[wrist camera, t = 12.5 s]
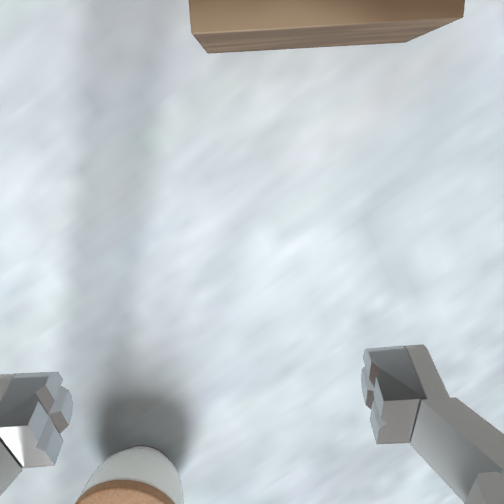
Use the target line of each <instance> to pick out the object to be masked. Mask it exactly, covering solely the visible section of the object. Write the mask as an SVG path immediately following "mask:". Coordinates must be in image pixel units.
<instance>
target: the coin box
mask: <svg viewBox="0 0 504 504" xmlns="http://www.w3.org/2000/svg"><path fill="white" fill-rule="evenodd" d="M464 3H465V0H189V11H190V22H191V33H192V34H193V35H194V37H195V38H196V39H197V40H198V42H199V43H200V44H201V46H202V47H203V48H204V49H205V51H206V52H207V53H224V52H241V51H259V50H277V49H295V48H313V47H331V46H348V45H366V44H384V43H402V42H407V41H410V40H412V39H414V38H417V37H419V36H421V35H424V34H426V33H428V32H430V31H433V30H435V29H437V28H440V27H442V26H444V25H447V24H449V23H451V22H453V21H456V20H458V19H460V18H463V14H464Z"/></svg>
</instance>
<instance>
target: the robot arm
mask: <svg viewBox="0 0 504 504" xmlns="http://www.w3.org/2000/svg"><path fill="white" fill-rule="evenodd" d="M363 360H364V363H365V367H364V368H363V369H362V374H361V382H362V391H363V396H364V400H365V404H366V406H368V407H369V408H370V409H371V416H370V422H371V426H372V429H373V433H374V437H375V440H376V444H394V443H410V445H411V446H412V447H413V448H414V449H415V450H416V451H417V453H418V454H419V455H420V456H421V457H422V458H423V459H424V460H425V461H426V462H427V463H428V464H429V465H430V467H431V468H432V469H433V470H434V471H435V472H436V473H437V474H438V475H439V476H440V477H441V478H442V479H443V481H444V482H445V483H446V484H447V485H448V486H449V487H450V488H451V489H452V490H453V491H454V492H455V494H456V495H457V496H458V497H459V498H460V499H461V500H462V501H463V502H464V504H504V434H503V433H502V432H500V431H499V430H498V429H496V428H495V427H494V426H493V425H491V424H490V423H489V422H487V421H486V420H485V419H483V418H482V417H481V416H479V415H478V414H477V413H476V412H474V411H473V410H472V409H470V408H469V407H468V406H466V405H465V404H464V403H462V402H461V401H460V400H459V399H457V398H450V397H449V394H448V392H447V390H446V388H445V386H444V384H443V382H442V379H441V377H440V375H439V373H438V371H437V369H436V367H435V364H434V362H433V360H432V358H431V356H430V354H429V351H428V349H427V347H426V346H424V345H409V346H392V347H380V348H369V349H365V351H364V355H363ZM62 381H63V379H62V377H61V376H60V374H59V372H39V373H18V374H1V375H0V496H1V494H2V493H3V492H4V491H5V490H6V489H7V488H8V486H9V485H10V484H11V483H12V482H13V481H14V480H15V478H16V477H17V476H18V475H19V474H20V473H21V472H22V468H33V467H43V466H54V465H55V463H56V460H57V457H58V455H59V452H60V449H61V446H62V443H63V439H62V437H61V434H60V433H61V432H62V431H63V430H64V429H65V428H66V427H67V426H68V425H69V423H70V420H71V417H72V410H73V401H72V396H71V394H70V392H69V390H68V389H66V388H64V387H62V386H61V383H62Z"/></svg>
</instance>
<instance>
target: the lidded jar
mask: <svg viewBox="0 0 504 504" xmlns="http://www.w3.org/2000/svg"><path fill="white" fill-rule="evenodd" d="M75 504H184V494H183V485H182V482H181V479H180V475H179V473H178V471H177V470H176V468H175V466H174V465H173V464H172V462H170V461H169V460H168V459H167V457H166V456H165V455H164V454H163V453H162V452H160V451H158V450H157V449H154V448H152V447H147V446H136V447H132V448H129V449H126V450H122V451H120V452H118V453H115V454H114V455H112V456H110V457H109V458H107V459H106V460H105V461H104V462H103V463H102V464H101V465H100V466H98V468H97V469H96V470H95V471H94V473H93V474H92V475H91V477H90V478H89V480H88V481H87V483H86V485H85V486H84V488H83V490H82V492H81V495H80V497H79V499H78V500H77V501H76V503H75Z"/></svg>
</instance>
